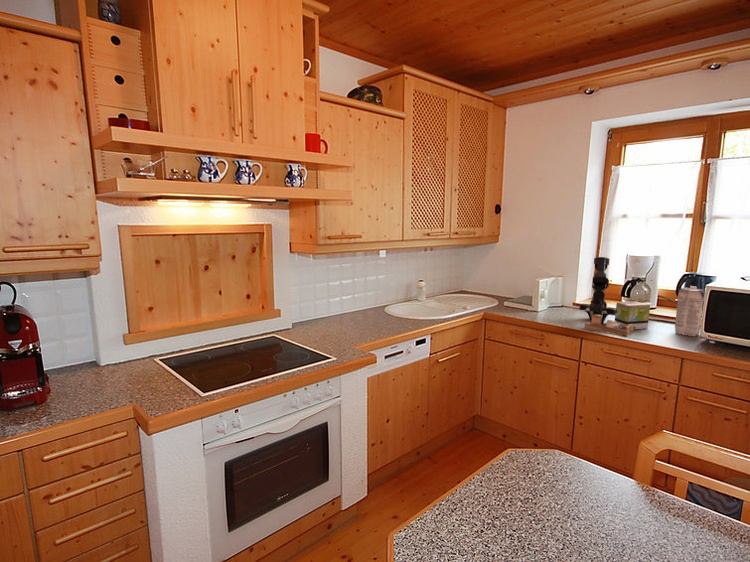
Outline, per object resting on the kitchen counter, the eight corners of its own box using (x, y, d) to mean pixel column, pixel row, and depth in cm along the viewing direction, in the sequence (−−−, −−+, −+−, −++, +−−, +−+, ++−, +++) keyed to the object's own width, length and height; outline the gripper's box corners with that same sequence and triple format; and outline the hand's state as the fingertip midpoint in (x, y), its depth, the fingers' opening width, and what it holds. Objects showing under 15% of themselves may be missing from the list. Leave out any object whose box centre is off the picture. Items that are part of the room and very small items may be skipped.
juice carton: (695, 337, 226) (701, 288, 222) (672, 333, 234) (677, 286, 230) (700, 335, 231) (706, 286, 227) (678, 330, 239) (684, 284, 235)
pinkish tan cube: (593, 323, 248) (593, 313, 247) (603, 325, 244) (603, 315, 244) (589, 325, 245) (590, 315, 244) (599, 327, 241) (600, 316, 240)
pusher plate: (618, 330, 239) (619, 323, 239) (623, 331, 238) (624, 324, 237) (615, 333, 235) (615, 325, 234) (620, 334, 233) (620, 326, 232)
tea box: (627, 330, 240) (630, 305, 238) (613, 326, 250) (615, 302, 247) (648, 328, 244) (650, 304, 242) (633, 324, 254) (635, 300, 251)
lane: (590, 325, 252) (590, 317, 251) (632, 332, 236) (633, 324, 235) (584, 328, 245) (584, 320, 244) (627, 336, 229) (628, 327, 228)
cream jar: (607, 329, 243) (608, 319, 242) (617, 331, 239) (618, 321, 238) (604, 331, 239) (605, 321, 238) (614, 333, 235) (615, 322, 234)
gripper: (576, 296, 243) (574, 322, 245) (611, 301, 230) (609, 328, 232) (583, 294, 251) (581, 319, 253) (618, 298, 237) (615, 325, 240)
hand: (596, 323), depth 244 cm, fingers closed on pinkish tan cube, 5 cm apart
